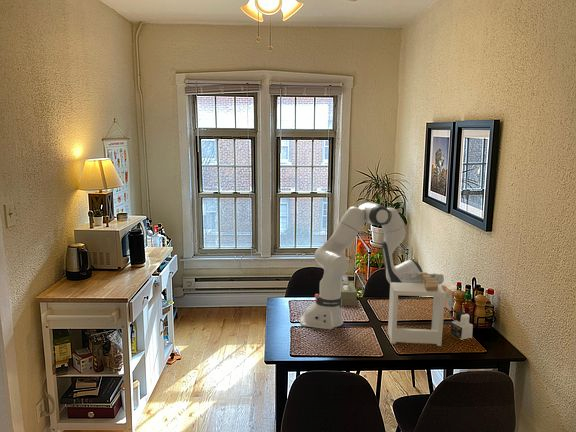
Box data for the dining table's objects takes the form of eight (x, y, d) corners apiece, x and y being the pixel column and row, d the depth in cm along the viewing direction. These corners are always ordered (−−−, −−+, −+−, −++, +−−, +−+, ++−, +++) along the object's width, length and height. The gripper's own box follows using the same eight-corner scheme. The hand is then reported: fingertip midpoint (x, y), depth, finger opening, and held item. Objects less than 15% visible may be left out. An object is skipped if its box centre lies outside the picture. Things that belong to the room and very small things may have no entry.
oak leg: (437, 291, 208) (438, 281, 207) (426, 290, 208) (427, 281, 207) (428, 278, 226) (429, 269, 225) (418, 278, 227) (419, 269, 226)
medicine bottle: (450, 335, 222) (451, 312, 220) (461, 332, 225) (463, 309, 222) (460, 341, 215) (462, 317, 213) (472, 338, 218) (474, 315, 216)
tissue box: (336, 294, 278) (337, 269, 276) (352, 294, 278) (353, 269, 275) (339, 305, 260) (340, 279, 257) (356, 305, 260) (357, 279, 257)
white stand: (391, 343, 212) (393, 290, 208) (387, 332, 224) (390, 282, 220) (441, 345, 210) (445, 292, 206) (435, 334, 222) (438, 283, 218)
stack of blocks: (432, 298, 272) (433, 279, 270) (442, 298, 273) (443, 278, 271) (450, 312, 251) (452, 291, 249) (461, 311, 252) (462, 290, 250)
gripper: (399, 274, 237) (403, 268, 224) (439, 275, 235) (446, 269, 222) (399, 286, 235) (404, 280, 222) (440, 287, 233) (447, 282, 220)
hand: (425, 274), depth 222 cm, fingers open, 8 cm apart
